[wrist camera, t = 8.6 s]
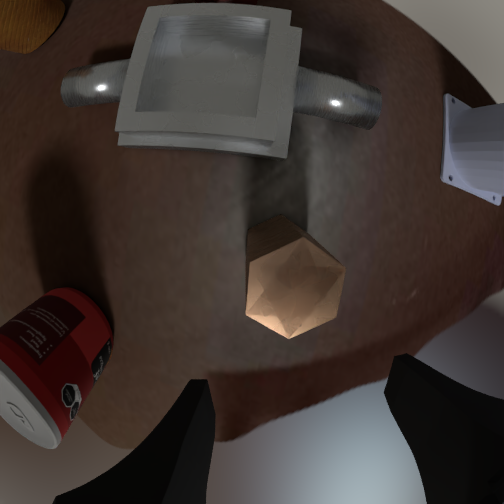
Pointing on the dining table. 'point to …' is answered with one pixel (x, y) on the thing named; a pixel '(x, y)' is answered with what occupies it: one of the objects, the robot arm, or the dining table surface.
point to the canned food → (51, 363)
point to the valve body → (218, 82)
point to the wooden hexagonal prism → (290, 278)
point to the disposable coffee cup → (28, 23)
